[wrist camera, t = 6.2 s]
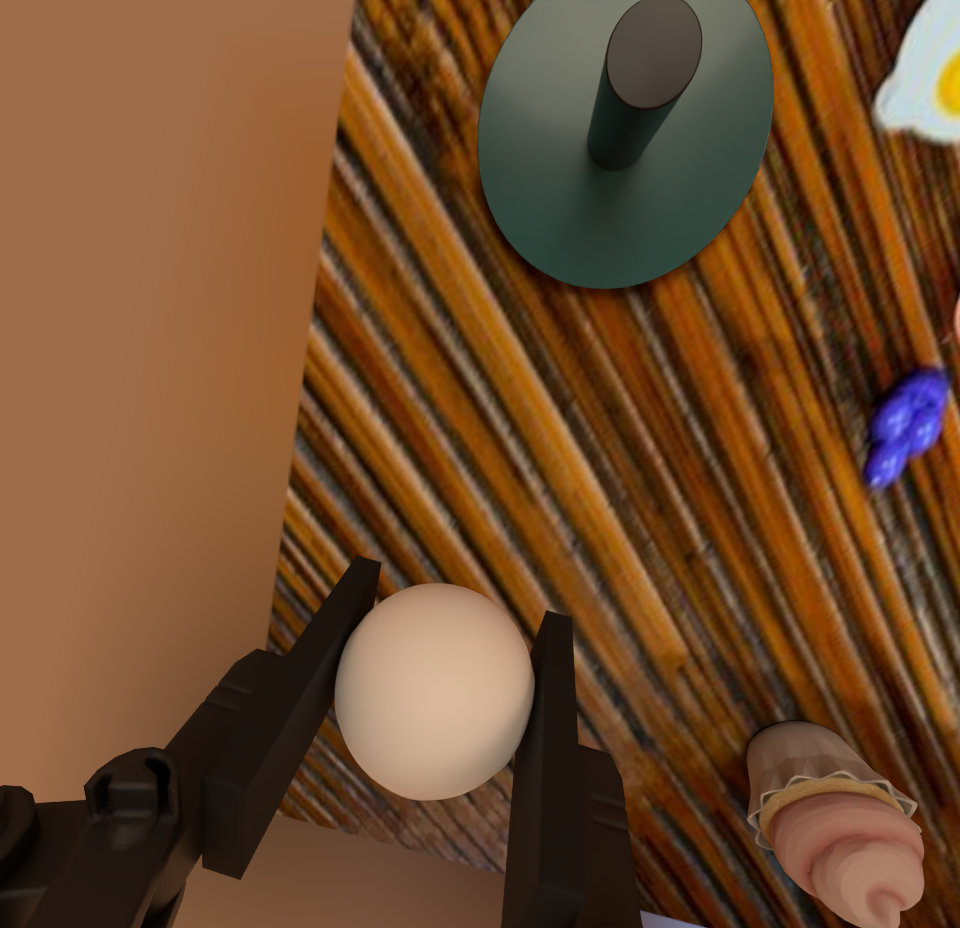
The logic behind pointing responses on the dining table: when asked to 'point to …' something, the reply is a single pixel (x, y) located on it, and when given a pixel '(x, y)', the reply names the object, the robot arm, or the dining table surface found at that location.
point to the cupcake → (835, 824)
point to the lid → (623, 133)
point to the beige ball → (434, 691)
